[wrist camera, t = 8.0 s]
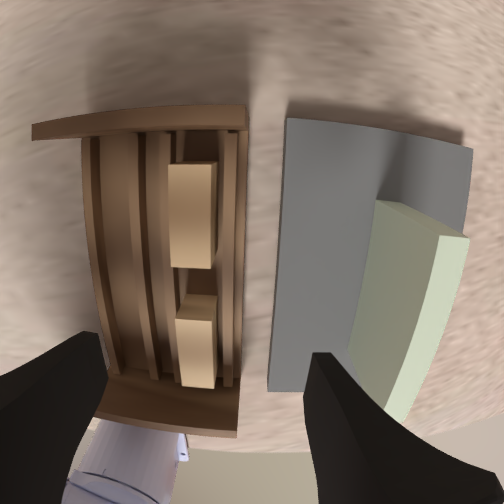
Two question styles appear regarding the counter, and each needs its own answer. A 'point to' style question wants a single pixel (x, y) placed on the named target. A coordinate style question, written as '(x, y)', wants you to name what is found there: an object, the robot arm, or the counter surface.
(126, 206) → the rack
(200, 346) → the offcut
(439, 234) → the pale green rectangular block
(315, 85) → the counter surface
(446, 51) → the counter surface
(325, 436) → the robot arm
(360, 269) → the mat
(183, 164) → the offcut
